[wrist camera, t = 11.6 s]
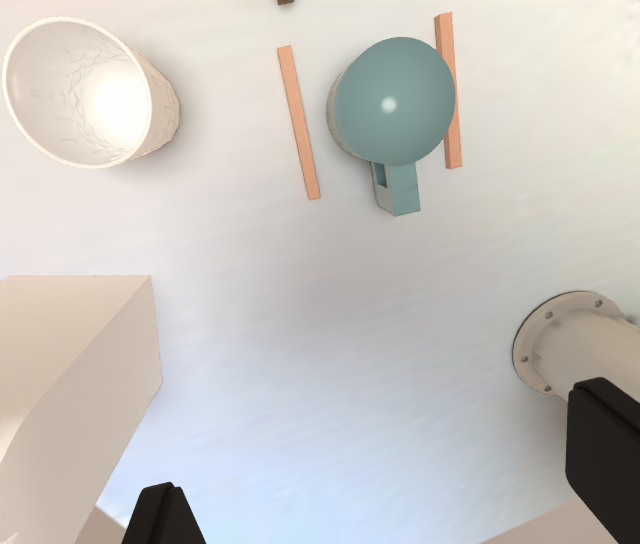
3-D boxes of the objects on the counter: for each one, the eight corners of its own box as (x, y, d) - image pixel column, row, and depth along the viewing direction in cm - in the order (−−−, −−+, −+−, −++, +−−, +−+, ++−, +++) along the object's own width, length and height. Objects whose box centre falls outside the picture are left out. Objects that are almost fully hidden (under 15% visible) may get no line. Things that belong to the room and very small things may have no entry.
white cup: (80, 45, 29) (-11, 3, 20) (188, 61, 30) (150, 28, 21) (88, 153, 32) (11, 161, 22) (188, 164, 33) (153, 176, 24)
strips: (446, 15, 31) (451, 11, 30) (457, 165, 35) (461, 166, 35) (277, 50, 31) (277, 47, 30) (308, 198, 35) (309, 200, 34)
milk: (150, 275, 36) (-112, 574, 11) (162, 380, 40) (-15, 772, 15) (10, 275, 34) (-628, 616, 10) (36, 384, 38) (-380, 823, 14)
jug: (412, 49, 32) (451, 25, 25) (426, 190, 36) (463, 204, 29) (317, 69, 32) (330, 50, 25) (343, 209, 36) (359, 227, 29)
